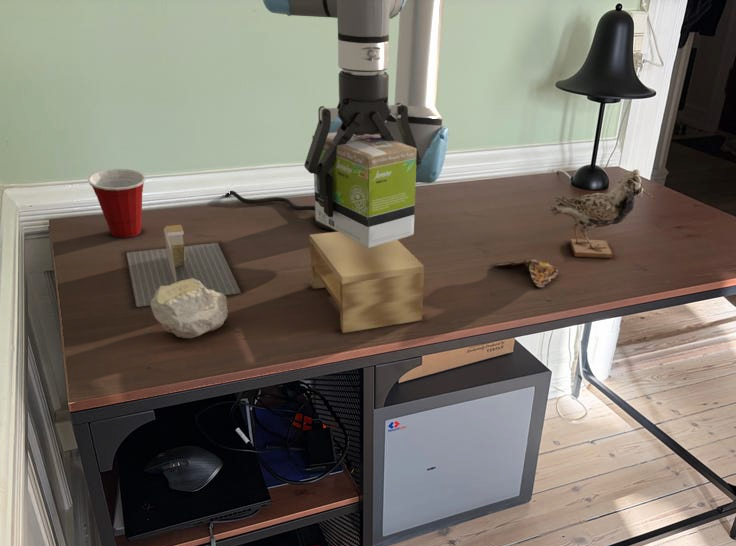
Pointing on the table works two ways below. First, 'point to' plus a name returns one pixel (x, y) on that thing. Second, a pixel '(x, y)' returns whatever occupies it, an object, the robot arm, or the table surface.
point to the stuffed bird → (600, 213)
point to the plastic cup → (120, 199)
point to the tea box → (370, 189)
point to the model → (178, 267)
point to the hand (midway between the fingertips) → (364, 210)
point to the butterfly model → (539, 271)
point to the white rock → (189, 308)
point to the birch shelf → (368, 280)
